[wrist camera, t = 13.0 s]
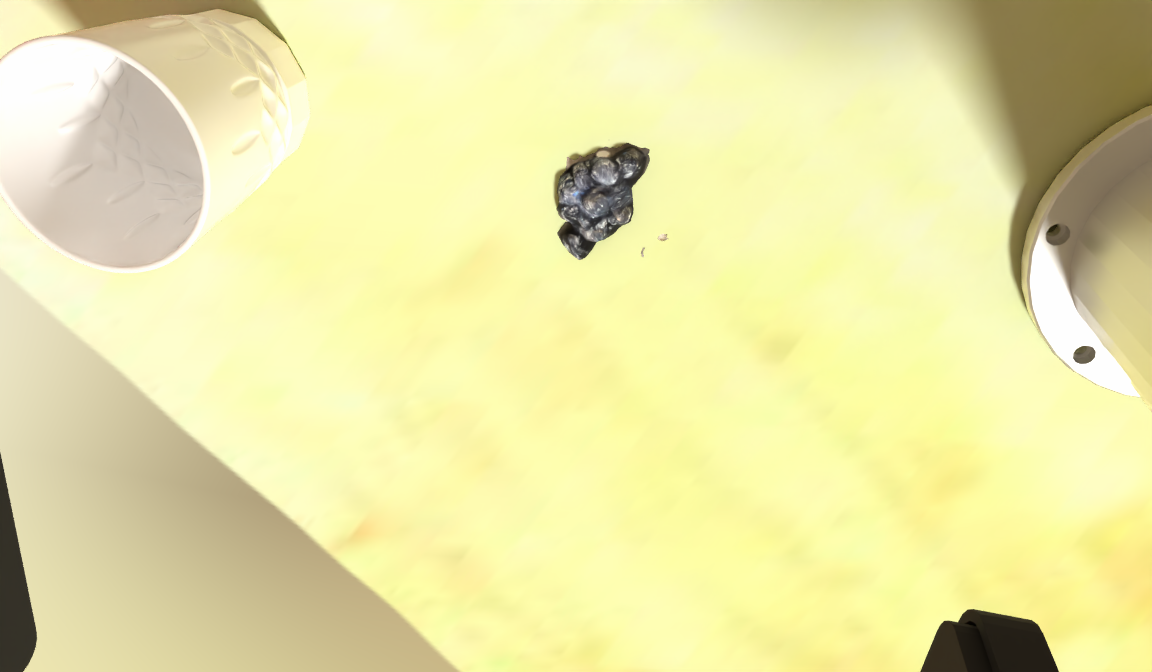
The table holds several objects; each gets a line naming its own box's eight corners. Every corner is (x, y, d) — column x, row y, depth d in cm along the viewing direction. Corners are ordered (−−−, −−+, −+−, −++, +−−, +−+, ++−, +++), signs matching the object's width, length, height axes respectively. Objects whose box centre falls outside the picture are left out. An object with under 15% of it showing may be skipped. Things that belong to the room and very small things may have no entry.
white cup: (169, -44, 37) (-4, -12, 28) (351, 52, 38) (237, 112, 29) (126, 130, 40) (-40, 206, 32) (292, 214, 41) (176, 311, 32)
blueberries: (721, 152, 38) (722, 162, 37) (640, 316, 41) (638, 333, 40) (570, 85, 38) (564, 91, 36) (500, 256, 41) (492, 269, 39)
